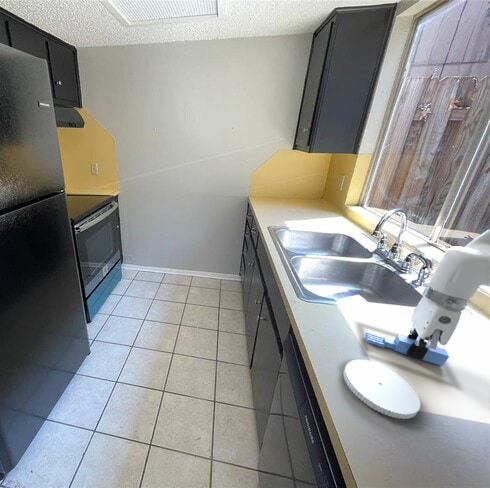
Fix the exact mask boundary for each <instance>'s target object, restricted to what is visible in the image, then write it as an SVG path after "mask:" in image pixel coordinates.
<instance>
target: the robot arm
mask: <svg viewBox="0 0 490 488" xmlns="http://www.w3.org/2000/svg"><path fill="white" fill-rule="evenodd" d="M481 286H486V287H489V288H490V228H489V229H487V230H486V231H484V232H482V233H481V234H479V235H478V236H477V237H475V238H474V239H472V240H471V241H469V243H467V244H466V245H465V246H452V247H449V248H448V249H447V250H445V252H444V254H443V255H442V257H441V259H440V261H439V262H438V264H437V266H436V268H435V269H434V271H433V273H432V275H431V277H430V279H429V281H428V283H427V285H426V286H425V288H424V290H423V292H422V294H421V296H422V297H421V299H420V300H419V302H418V304H416V306H415V308H414V310H413V312H412V314H411V317H410V320H411V323H412V327H411V328H410V330H409V333H408V335H407V336H406V337H407V338H410V339H414V340H416V341H415V343H412V344H411V346H410V348H409V350H408V351H407V354H408V355H407V354H406V355H407V356H409V357H412V358H415V359H418V360H421V359H423V358H424V356H425V354H426V353H427V351H428V350H430V349H432V350H436V347H438V343H439V345H441V346H443V347H444V346H446V345H447V344H448V343H449V342H450V340H451V338H452V336H453V334H454V333H455V330H456V328H457V327H458V324H459V322H460V319H461V316H462V311H464V310H465V309H466V308H467V306H468V305H469V303H470V301H471V300H472V298H473V297H474V295H475V293H476V292H477V291H478V290H479V288H480V287H481Z"/></svg>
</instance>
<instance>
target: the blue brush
mask: <svg viewBox="0 0 490 488" xmlns="http://www.w3.org/2000/svg"><path fill="white" fill-rule="evenodd" d="M364 335H365V340H366V343H369V344H372V345H375V346H378V347H381V348H383V349H384V348H385V347H386V348H387V349H388V348H389V349H392V350H393V351H395V352H398V353H401V354H403V355H407V356H409V355H408V354H407V351H408V350H409V348H410V346H411V344H412V343H415V341H416V340H414V339H410V338H407V337H408V336H404V335H400V334H396V336H395V338H394V339H391V338H387V337H383V336H381V335H378V334H375V333H371V332H368V331H366V332H365V333H364ZM449 358H450V356H449V354H448V352H447V350H446V348H442V347H439V346H437V347H436V350H432V349H430V350H428V351H427V353H426V354H425V356H424V358H423V359H420V360H422V361H424V362H428V363H430V364H433V365H436V366H439V367H443V366H444V365H445V363H446V362H447V360H449Z"/></svg>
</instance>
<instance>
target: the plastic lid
mask: <svg viewBox="0 0 490 488" xmlns="http://www.w3.org/2000/svg"><path fill="white" fill-rule="evenodd" d="M342 376H343V379H344V382H345V384H346V386H347V387H348V389H349V390H350V391H351V392H352V394H354V395H355V397H357V399H358V400H360V402H363V404H365V405H366V406H367V407H370V409H373V410H374V411H377V412H378V413H381V414H382V415H384V416H388V417H389V418H390V417H391V418H394V419H398V420H400V419H401V420H406V419H407V420H409V419H411V418H414V417H416V415H417V414H418V412H419V411H420V410H421V407H422V405H421V399H420V397H419V395H418V393H417V391H416V390H415V389H414V388H413V386H411V383H408V381H407V380H405V379H404V378H403V377H402V376H401V375H399V374H398V373H397V372H394V371H393V370H391V369H390V368H388V367H386V366H384V365H382V364H379V363H377V362H374V361H370V360H367V359H352V360H350V361H348V362H347V363H346V365H345V367H344V369H343V375H342Z"/></svg>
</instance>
